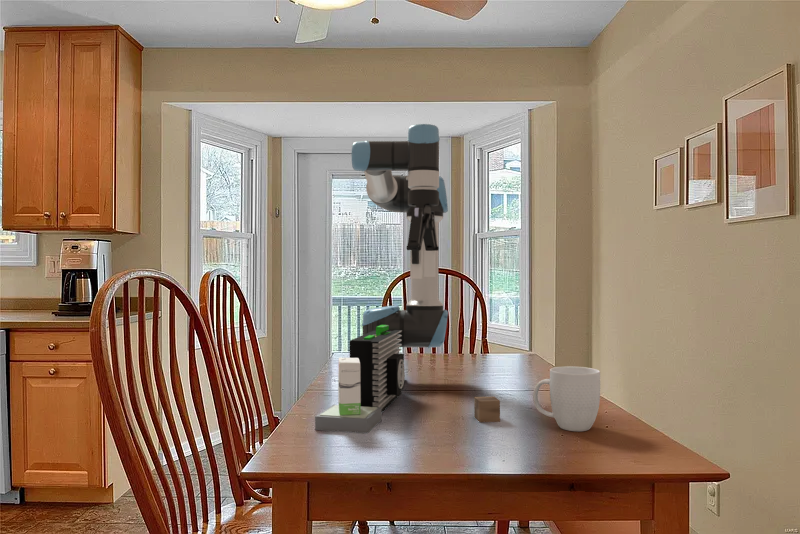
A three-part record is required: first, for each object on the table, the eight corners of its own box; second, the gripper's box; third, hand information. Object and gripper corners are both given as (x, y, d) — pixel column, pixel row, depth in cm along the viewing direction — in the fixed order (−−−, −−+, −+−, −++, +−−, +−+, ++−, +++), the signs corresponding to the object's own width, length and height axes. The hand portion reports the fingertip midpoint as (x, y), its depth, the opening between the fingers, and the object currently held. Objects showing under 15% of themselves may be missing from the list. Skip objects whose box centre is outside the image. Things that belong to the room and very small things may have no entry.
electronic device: (390, 417, 158) (390, 334, 158) (347, 414, 160) (347, 333, 160) (411, 394, 185) (411, 323, 185) (374, 392, 187) (374, 322, 187)
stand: (333, 417, 157) (333, 404, 157) (381, 420, 154) (381, 406, 154) (315, 429, 145) (315, 415, 145) (366, 433, 142) (366, 418, 142)
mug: (527, 429, 146) (527, 370, 146) (538, 418, 156) (538, 363, 156) (596, 436, 140) (596, 375, 140) (603, 424, 150) (603, 368, 150)
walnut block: (474, 417, 157) (474, 396, 157) (494, 417, 158) (494, 396, 158) (479, 422, 152) (479, 401, 152) (500, 422, 153) (500, 400, 153)
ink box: (361, 415, 145) (361, 362, 145) (338, 415, 145) (338, 362, 145) (359, 406, 154) (359, 356, 154) (338, 407, 153) (338, 357, 153)
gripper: (420, 194, 171) (420, 275, 171) (394, 184, 147) (394, 279, 147) (449, 194, 169) (448, 276, 169) (426, 183, 145) (426, 279, 145)
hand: (423, 277), depth 158 cm, fingers open, 13 cm apart
